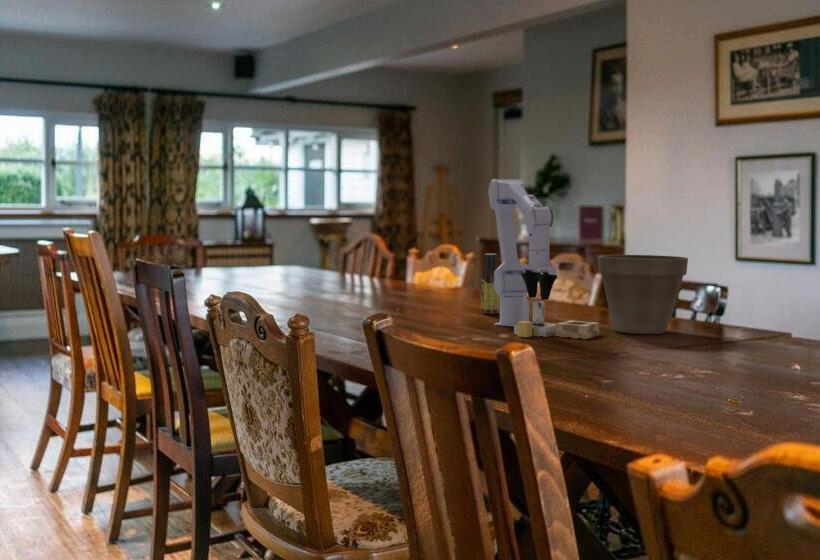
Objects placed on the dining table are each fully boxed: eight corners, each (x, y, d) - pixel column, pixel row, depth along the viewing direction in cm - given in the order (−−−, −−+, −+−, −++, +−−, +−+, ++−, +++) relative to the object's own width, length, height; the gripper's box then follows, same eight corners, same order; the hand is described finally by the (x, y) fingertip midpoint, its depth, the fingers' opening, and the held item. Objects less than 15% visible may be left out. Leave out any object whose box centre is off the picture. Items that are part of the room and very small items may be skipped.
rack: (569, 332, 269) (569, 320, 269) (599, 335, 264) (599, 322, 264) (555, 336, 262) (555, 323, 262) (585, 339, 257) (585, 326, 256)
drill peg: (535, 332, 270) (536, 300, 269) (545, 333, 268) (546, 301, 267) (530, 333, 267) (530, 301, 266) (540, 334, 265) (541, 302, 265)
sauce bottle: (483, 312, 319) (483, 253, 318) (501, 312, 317) (502, 253, 316) (478, 314, 313) (479, 254, 312) (497, 315, 311) (497, 254, 310)
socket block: (530, 330, 275) (530, 321, 274) (562, 332, 269) (562, 324, 269) (514, 334, 266) (514, 325, 266) (546, 337, 261) (546, 328, 260)
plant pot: (652, 324, 288) (654, 252, 286) (704, 334, 265) (706, 257, 263) (580, 327, 280) (581, 254, 278) (627, 339, 257) (628, 258, 255)
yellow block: (522, 335, 264) (522, 320, 264) (532, 336, 263) (532, 321, 262) (517, 336, 262) (517, 322, 261) (526, 337, 260) (527, 322, 260)
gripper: (513, 249, 270) (512, 296, 272) (541, 251, 257) (540, 301, 259) (534, 248, 273) (533, 295, 275) (563, 251, 260) (562, 300, 262)
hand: (538, 298), depth 267 cm, fingers open, 6 cm apart
